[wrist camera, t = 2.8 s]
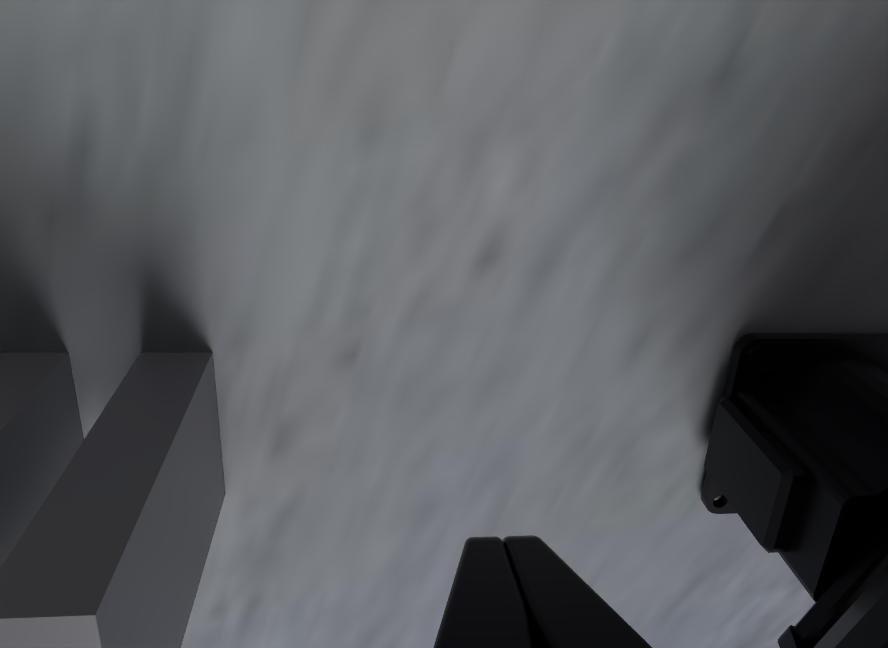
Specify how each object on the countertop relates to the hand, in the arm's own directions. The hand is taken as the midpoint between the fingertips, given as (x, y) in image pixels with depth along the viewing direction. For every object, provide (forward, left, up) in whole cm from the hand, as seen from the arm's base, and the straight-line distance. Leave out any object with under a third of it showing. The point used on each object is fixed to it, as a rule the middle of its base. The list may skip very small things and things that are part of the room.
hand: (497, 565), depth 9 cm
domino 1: (+7, +6, -13) cm, 16 cm away
